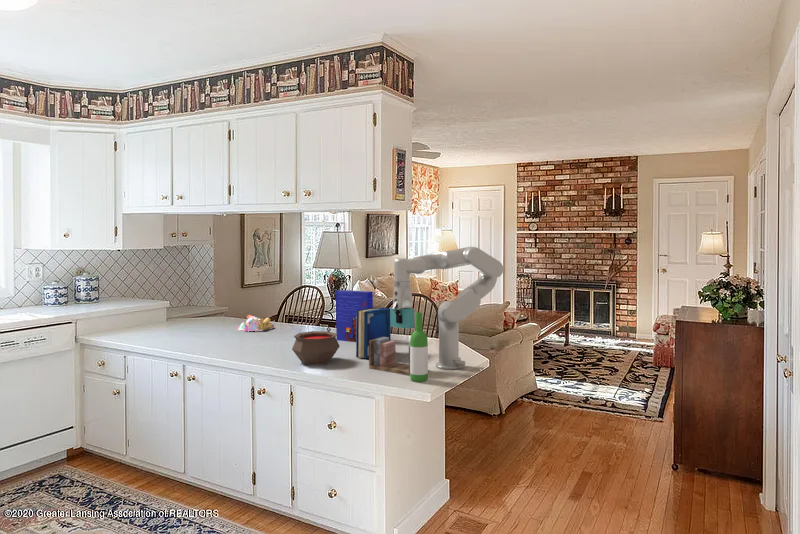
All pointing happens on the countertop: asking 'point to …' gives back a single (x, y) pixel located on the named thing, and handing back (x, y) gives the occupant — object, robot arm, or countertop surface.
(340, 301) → the cereal box
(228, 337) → the countertop surface
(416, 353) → the wine bottle
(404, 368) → the shelf
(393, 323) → the teal book
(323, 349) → the brown bowl
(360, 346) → the book
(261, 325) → the candy landscape model
